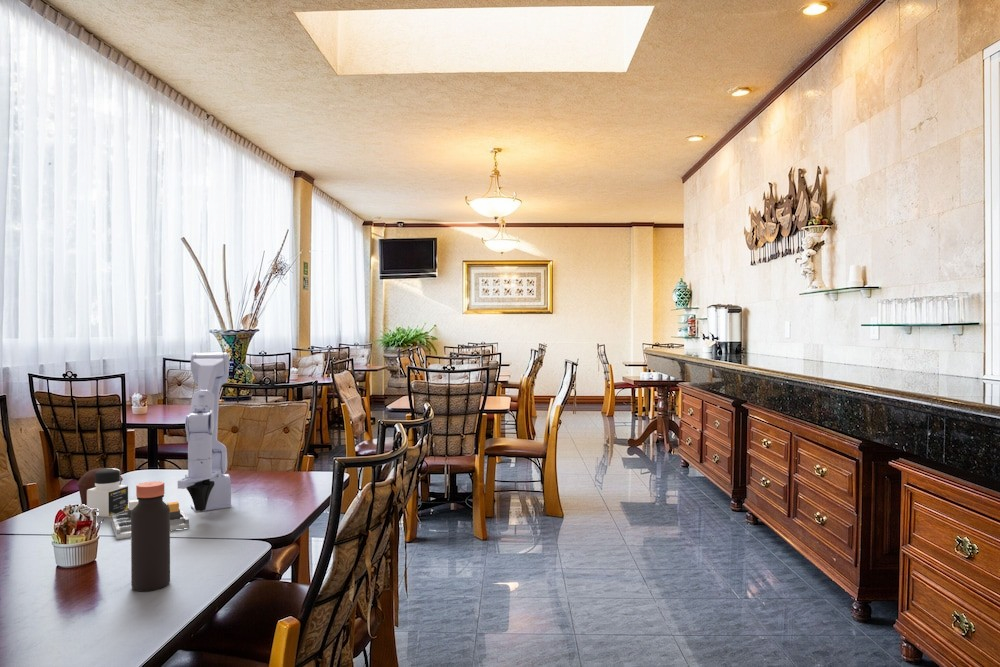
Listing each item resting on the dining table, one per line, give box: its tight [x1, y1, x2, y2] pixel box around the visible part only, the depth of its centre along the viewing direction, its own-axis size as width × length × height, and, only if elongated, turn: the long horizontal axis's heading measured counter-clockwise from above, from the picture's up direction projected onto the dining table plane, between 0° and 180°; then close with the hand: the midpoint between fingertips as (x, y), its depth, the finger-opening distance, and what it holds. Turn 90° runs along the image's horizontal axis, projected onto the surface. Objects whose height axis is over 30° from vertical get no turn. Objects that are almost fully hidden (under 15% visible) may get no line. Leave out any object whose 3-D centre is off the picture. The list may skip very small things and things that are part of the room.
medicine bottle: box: [87, 467, 129, 518], centre depth 186 cm, size 7×7×12 cm
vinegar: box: [130, 480, 171, 592], centre depth 134 cm, size 7×7×20 cm
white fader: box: [126, 499, 138, 518], centre depth 176 cm, size 3×3×4 cm
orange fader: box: [166, 501, 181, 519], centre depth 174 cm, size 3×3×4 cm
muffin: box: [76, 467, 124, 505], centre depth 196 cm, size 12×11×10 cm
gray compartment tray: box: [110, 506, 190, 540], centre depth 175 cm, size 16×18×2 cm
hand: (200, 510), depth 178 cm, fingers closed
